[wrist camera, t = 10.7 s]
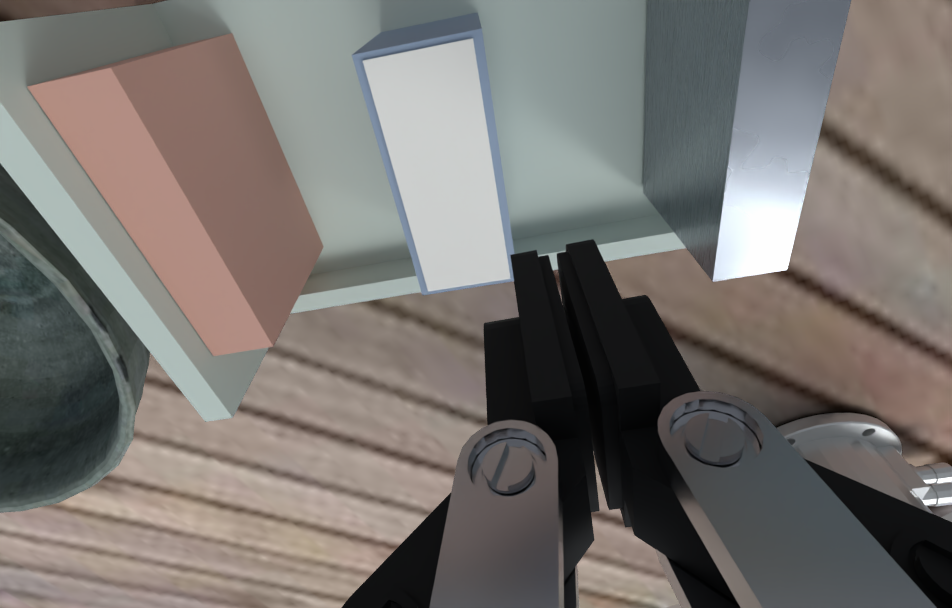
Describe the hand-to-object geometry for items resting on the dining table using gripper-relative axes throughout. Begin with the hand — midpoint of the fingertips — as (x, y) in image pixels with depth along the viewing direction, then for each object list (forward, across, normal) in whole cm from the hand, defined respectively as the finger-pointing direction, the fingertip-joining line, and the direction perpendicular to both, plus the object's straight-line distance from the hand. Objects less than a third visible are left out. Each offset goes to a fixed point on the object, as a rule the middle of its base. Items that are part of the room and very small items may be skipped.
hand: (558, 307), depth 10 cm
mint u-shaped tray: (+15, +3, 0) cm, 15 cm away
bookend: (+14, -7, 0) cm, 16 cm away
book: (+14, +3, 0) cm, 14 cm away
